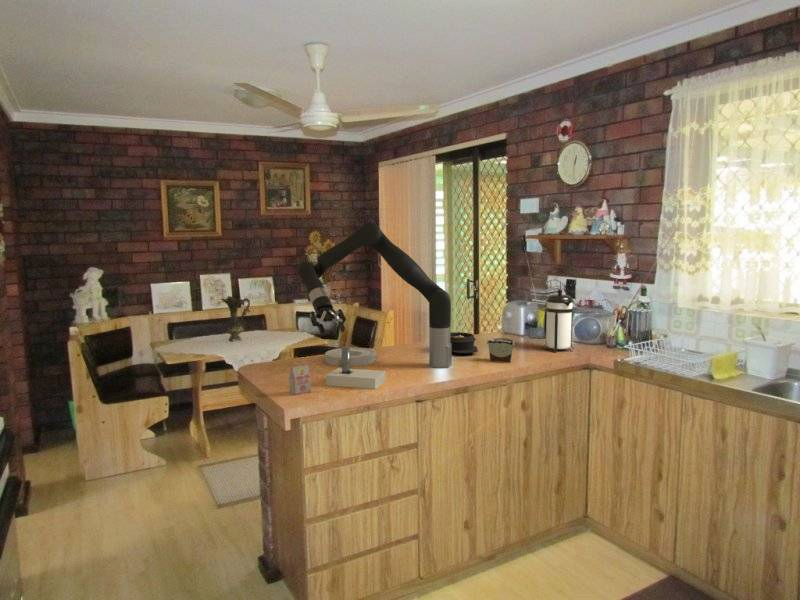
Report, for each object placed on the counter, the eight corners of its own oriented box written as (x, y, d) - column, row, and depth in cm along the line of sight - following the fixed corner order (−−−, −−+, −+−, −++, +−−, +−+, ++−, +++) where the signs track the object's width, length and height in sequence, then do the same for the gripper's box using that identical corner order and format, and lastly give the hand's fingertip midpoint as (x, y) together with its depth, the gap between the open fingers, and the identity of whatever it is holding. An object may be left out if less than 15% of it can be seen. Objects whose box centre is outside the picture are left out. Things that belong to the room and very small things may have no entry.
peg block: (385, 381, 225) (385, 371, 224) (375, 388, 213) (375, 378, 213) (338, 377, 231) (338, 368, 230) (326, 385, 219) (325, 375, 219)
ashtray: (385, 362, 258) (385, 353, 258) (339, 369, 246) (338, 360, 246) (361, 353, 278) (360, 345, 277) (317, 359, 266) (316, 351, 265)
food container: (517, 360, 259) (517, 338, 258) (513, 363, 254) (514, 341, 252) (490, 358, 264) (490, 336, 263) (486, 360, 259) (487, 339, 258)
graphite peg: (351, 381, 224) (350, 346, 223) (348, 383, 221) (347, 348, 220) (344, 381, 225) (343, 346, 224) (340, 383, 222) (340, 347, 220)
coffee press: (578, 348, 285) (580, 288, 281) (569, 354, 271) (570, 291, 268) (544, 345, 294) (545, 287, 291) (533, 350, 281) (535, 289, 277)
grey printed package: (289, 393, 208) (288, 366, 207) (305, 390, 213) (305, 363, 211) (294, 395, 206) (293, 368, 204) (310, 392, 210) (310, 365, 209)
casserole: (487, 355, 271) (487, 337, 270) (451, 358, 265) (451, 340, 264) (464, 345, 295) (464, 329, 294) (431, 348, 288) (431, 331, 287)
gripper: (307, 296, 231) (320, 328, 223) (338, 294, 239) (352, 324, 231) (302, 308, 236) (314, 339, 228) (333, 305, 244) (346, 335, 236)
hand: (333, 332), depth 229 cm, fingers open, 8 cm apart
